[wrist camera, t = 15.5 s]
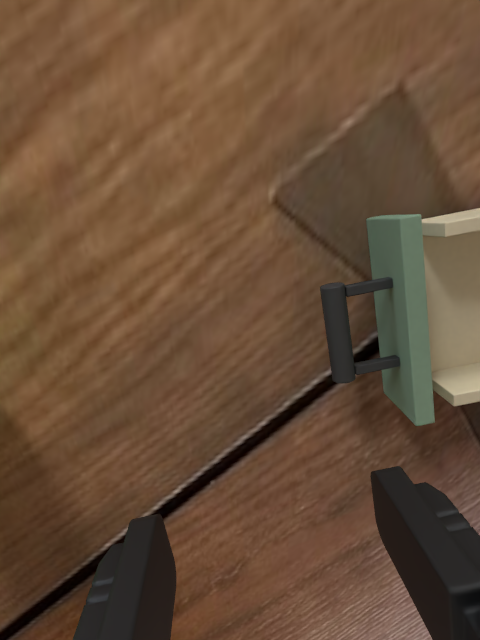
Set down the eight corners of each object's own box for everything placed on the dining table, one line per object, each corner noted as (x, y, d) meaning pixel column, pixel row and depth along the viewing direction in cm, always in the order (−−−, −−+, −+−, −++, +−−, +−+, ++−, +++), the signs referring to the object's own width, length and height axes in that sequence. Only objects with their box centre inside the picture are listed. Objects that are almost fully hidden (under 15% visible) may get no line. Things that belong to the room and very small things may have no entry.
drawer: (326, 404, 28) (347, 440, 24) (301, 231, 25) (320, 233, 20) (578, 353, 28) (649, 380, 24) (585, 175, 25) (669, 165, 21)
